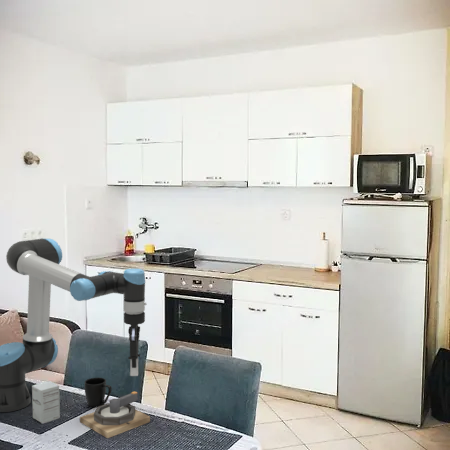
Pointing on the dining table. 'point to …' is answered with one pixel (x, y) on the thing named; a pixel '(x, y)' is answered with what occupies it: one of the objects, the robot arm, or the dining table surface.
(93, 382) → the mug
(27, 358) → the robot arm
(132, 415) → the dial board
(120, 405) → the dial
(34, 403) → the supplement box
